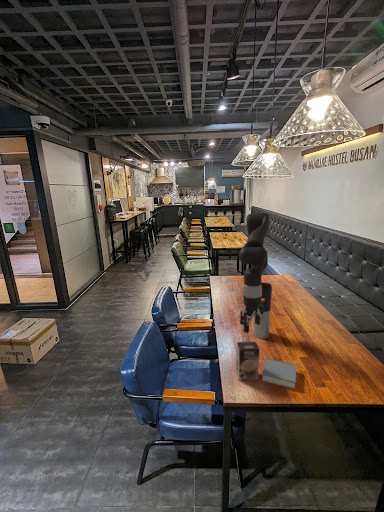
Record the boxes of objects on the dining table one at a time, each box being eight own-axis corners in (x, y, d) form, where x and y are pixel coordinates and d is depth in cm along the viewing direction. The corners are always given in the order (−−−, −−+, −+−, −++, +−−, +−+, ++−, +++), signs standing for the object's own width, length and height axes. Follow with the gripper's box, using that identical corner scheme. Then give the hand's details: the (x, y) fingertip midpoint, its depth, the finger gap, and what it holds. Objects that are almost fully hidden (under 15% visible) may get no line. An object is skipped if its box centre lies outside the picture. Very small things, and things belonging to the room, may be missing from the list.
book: (265, 365, 123) (265, 358, 122) (295, 372, 117) (296, 364, 117) (261, 381, 112) (262, 373, 111) (295, 389, 107) (295, 382, 106)
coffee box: (238, 381, 113) (239, 350, 109) (235, 371, 119) (236, 341, 115) (258, 379, 113) (259, 349, 109) (254, 370, 119) (255, 340, 116)
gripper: (254, 286, 111) (253, 319, 115) (234, 296, 101) (235, 331, 105) (269, 290, 105) (268, 324, 109) (250, 301, 96) (250, 338, 100)
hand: (252, 328), depth 107 cm, fingers open, 8 cm apart
